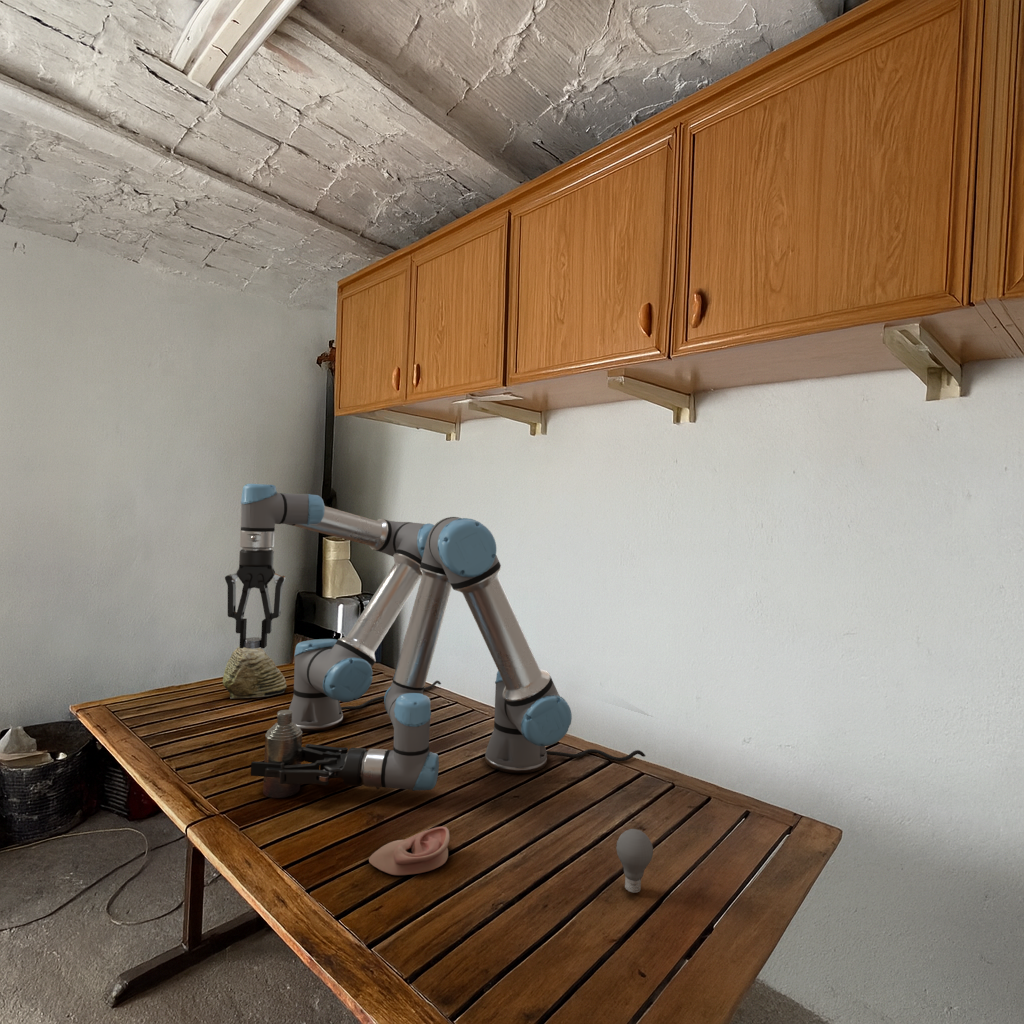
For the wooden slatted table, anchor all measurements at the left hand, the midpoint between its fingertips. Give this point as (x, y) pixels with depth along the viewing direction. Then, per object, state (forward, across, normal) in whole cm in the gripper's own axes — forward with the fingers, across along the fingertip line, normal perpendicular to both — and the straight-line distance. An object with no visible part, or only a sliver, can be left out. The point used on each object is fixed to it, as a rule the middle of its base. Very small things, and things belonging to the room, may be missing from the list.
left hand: (253, 646), depth 150 cm
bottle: (+27, +11, -17) cm, 33 cm away
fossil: (+27, -10, +49) cm, 57 cm away
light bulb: (+27, +74, -58) cm, 98 cm away
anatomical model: (+27, +38, -45) cm, 65 cm away
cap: (-2, 0, 0) cm, 2 cm away
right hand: (+21, +6, -16) cm, 27 cm away
